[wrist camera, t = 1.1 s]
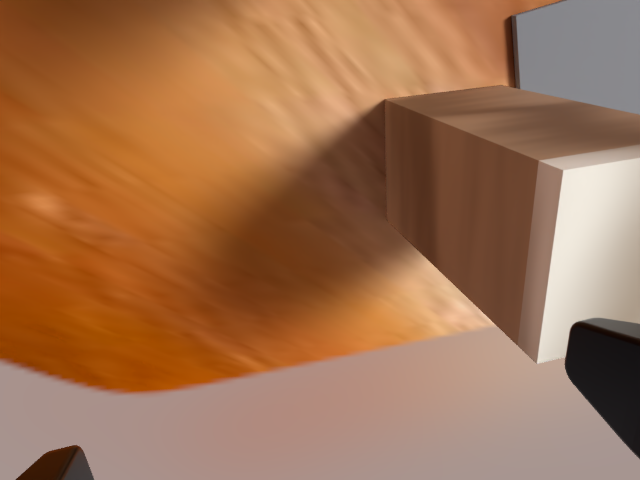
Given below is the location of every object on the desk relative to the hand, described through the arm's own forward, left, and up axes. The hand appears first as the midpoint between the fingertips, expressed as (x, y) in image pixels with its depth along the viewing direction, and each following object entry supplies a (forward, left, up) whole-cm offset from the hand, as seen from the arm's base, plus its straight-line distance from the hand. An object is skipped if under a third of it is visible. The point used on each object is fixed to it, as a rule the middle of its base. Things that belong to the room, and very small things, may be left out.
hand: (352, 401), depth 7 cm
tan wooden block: (+8, -2, -13) cm, 15 cm away
